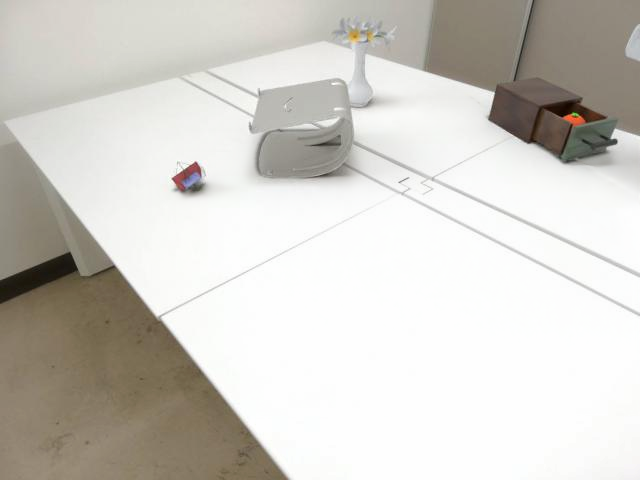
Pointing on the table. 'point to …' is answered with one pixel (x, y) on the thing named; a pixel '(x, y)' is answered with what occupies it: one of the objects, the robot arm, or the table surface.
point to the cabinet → (526, 104)
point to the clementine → (574, 120)
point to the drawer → (574, 131)
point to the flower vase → (361, 54)
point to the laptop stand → (295, 147)
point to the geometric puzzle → (189, 176)
